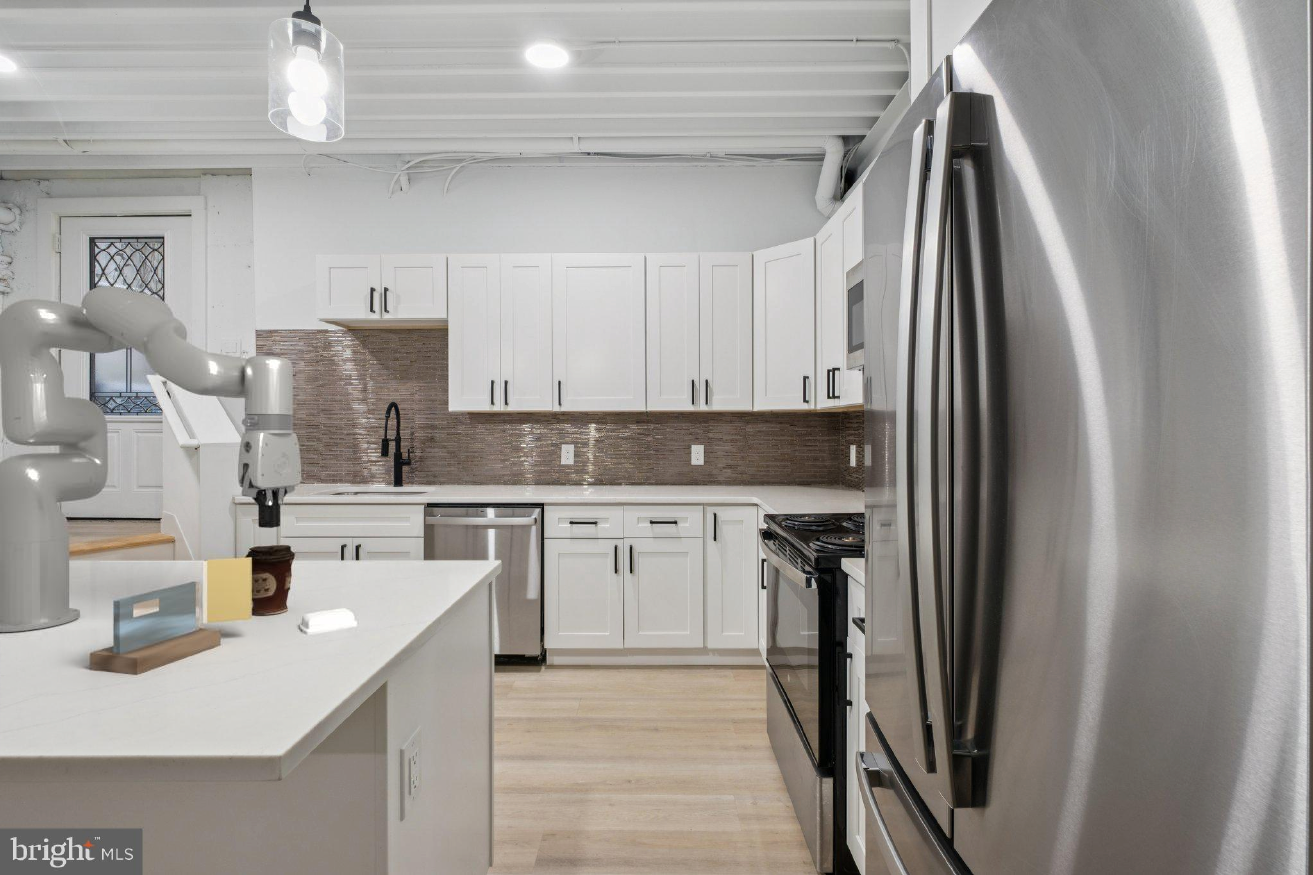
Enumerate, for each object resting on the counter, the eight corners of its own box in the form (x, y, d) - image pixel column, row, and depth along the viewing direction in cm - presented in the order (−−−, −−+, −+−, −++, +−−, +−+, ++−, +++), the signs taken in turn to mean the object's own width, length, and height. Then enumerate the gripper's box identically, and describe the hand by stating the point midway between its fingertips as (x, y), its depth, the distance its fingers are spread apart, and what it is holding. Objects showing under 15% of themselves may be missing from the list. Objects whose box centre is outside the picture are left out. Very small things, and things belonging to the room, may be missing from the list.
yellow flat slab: (204, 621, 112) (204, 559, 112) (251, 617, 114) (251, 557, 114) (202, 623, 111) (202, 561, 111) (249, 619, 113) (249, 558, 113)
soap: (305, 637, 116) (305, 621, 116) (297, 628, 121) (297, 612, 121) (359, 628, 122) (359, 612, 122) (349, 619, 127) (349, 604, 127)
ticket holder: (89, 669, 99) (89, 599, 99) (177, 640, 113) (177, 579, 112) (136, 674, 97) (136, 603, 97) (220, 645, 110) (220, 582, 110)
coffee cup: (270, 619, 126) (270, 551, 126) (233, 616, 127) (233, 549, 127) (303, 607, 134) (303, 543, 134) (268, 605, 136) (268, 542, 136)
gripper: (251, 424, 110) (252, 533, 111) (317, 425, 125) (317, 522, 125) (215, 424, 112) (215, 532, 112) (284, 425, 127) (284, 521, 127)
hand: (269, 526), depth 119 cm, fingers closed
